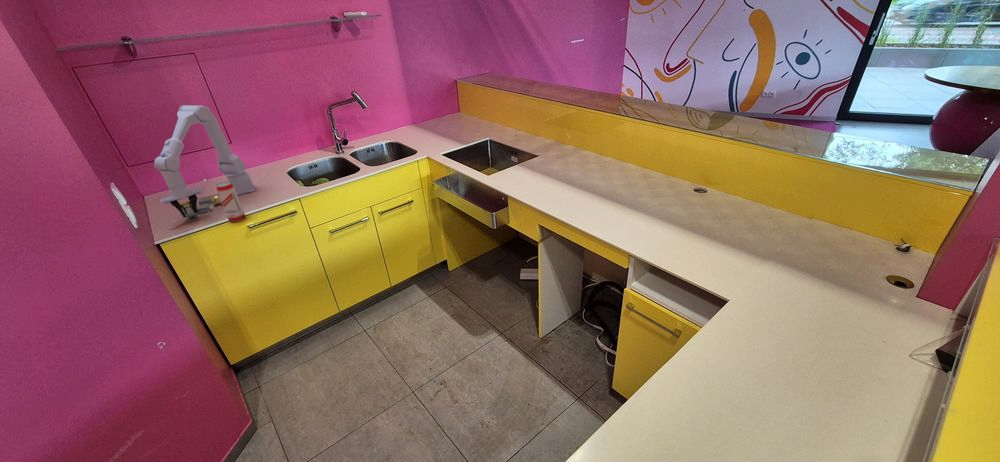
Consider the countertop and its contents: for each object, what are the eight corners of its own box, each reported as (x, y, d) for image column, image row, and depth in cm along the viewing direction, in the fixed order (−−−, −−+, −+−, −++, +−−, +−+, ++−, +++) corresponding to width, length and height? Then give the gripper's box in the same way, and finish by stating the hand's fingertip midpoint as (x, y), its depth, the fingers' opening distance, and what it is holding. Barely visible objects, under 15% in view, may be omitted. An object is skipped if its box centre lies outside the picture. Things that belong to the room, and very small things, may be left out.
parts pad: (198, 216, 181) (198, 215, 180) (198, 220, 177) (198, 219, 177) (186, 218, 179) (186, 218, 178) (186, 223, 175) (185, 222, 175)
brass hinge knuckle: (210, 204, 190) (206, 196, 188) (210, 210, 184) (206, 202, 182) (184, 209, 186) (180, 201, 184) (183, 216, 180) (179, 208, 178)
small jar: (199, 214, 180) (192, 200, 176) (196, 218, 176) (189, 204, 173) (189, 216, 179) (181, 202, 175) (186, 220, 176) (178, 206, 172)
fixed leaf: (225, 196, 198) (221, 188, 196) (225, 204, 190) (222, 195, 188) (200, 201, 193) (196, 193, 191) (200, 210, 186) (196, 201, 184)
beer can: (233, 216, 179) (219, 181, 171) (248, 215, 180) (235, 180, 172) (226, 223, 174) (211, 187, 166) (241, 221, 174) (227, 186, 166)
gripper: (193, 176, 177) (206, 205, 184) (152, 188, 168) (167, 217, 174) (198, 180, 173) (211, 209, 179) (157, 192, 163) (172, 222, 170)
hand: (190, 214), depth 177 cm, fingers closed on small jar, 4 cm apart
